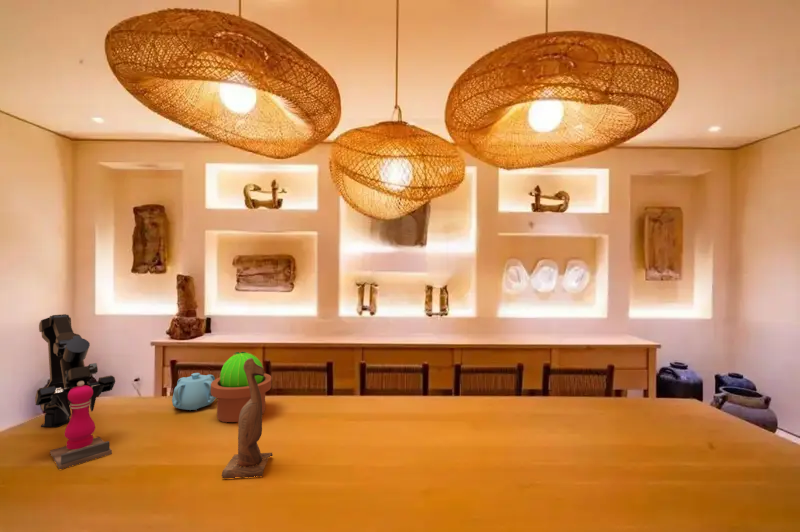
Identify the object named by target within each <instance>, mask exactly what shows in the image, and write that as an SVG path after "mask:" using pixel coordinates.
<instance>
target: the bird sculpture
mask: <svg viewBox="0 0 800 532" xmlns="http://www.w3.org/2000/svg"><path fill="white" fill-rule="evenodd" d="M262 367H263V366H262ZM262 367H261V366H259V365H257V364H256V363H255V362H254V360H253V358H249V359H247V360H246V361H245V363H244V367H243V368H244V371H245V374H246V377H247V380H248V384H249V389H250V395H251V399H250V400H249V401H248V402H247V403H246V404H245V405H244V406H243V408H242V409H241V412H240V415H239V422H238V429H237V430H238V431H237V453H238V454H233V456H232V458H230V460H229V461H228V463H227V465H226V466H225V467H224V468H223V470H222V471H221V479H222V478H224V479H225V478H234V479H235V477H243V478H244V477H248V478H249V477H254V476H255V477H256V476H257V477H258V476H259V477H260V476H262V477H263V476H264V470H265V467H266V465H267V463H268V460H269V457H270V456H273V457H274V454H273V452H261V450H260V447H259V443H258V442H259V440H260V439H261V437H262V432H263V415H262V399H261V394H260V390H259V387H258V384H257V382H256V379H255V376H257V375H260V376H264V373H265V371H264V367H263V368H262ZM257 477H256V478H257Z"/></svg>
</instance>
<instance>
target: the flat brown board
mask: <svg viewBox="0 0 800 532" xmlns="http://www.w3.org/2000/svg"><path fill="white" fill-rule="evenodd" d="M50 454H51V455H50ZM109 454H110V455H112V454H113V450H112V448H110V441H109V440H107V441H104V440H103V439H102V438H101V437H100V436H97V437H93V442H92V443H91V444H90V445H88V446H86V447H83V448H79V449H68V448H67V445H65V446H61V447H58V448H54V449H51V450H49V455H50V457H51V456H52V457H53V459H54V460H53V459H52V460H53V462H54V461H55V462H56V464H57V465H56V464H55V465H56V466H58V467H59V468H58V467H57V468H58V470H59V469H62V470H64V469H63V468H65V469H67V468H66V467H68V468H70V467H69V466H71V467H73V466H72V465H75V466H77V465H76V464H78V465H80V464H79V463H81V464H83V462H84V463H87V462H90V461H89V460H91V461H93V460H92V459H94V460H96V459H95V458H97V459H100V458H102V456H103V457H106V456H110V455H109ZM105 455H106V456H105ZM52 457H51V458H52ZM99 457H100V458H99ZM86 461H87V462H86ZM55 462H54V463H55Z"/></svg>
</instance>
